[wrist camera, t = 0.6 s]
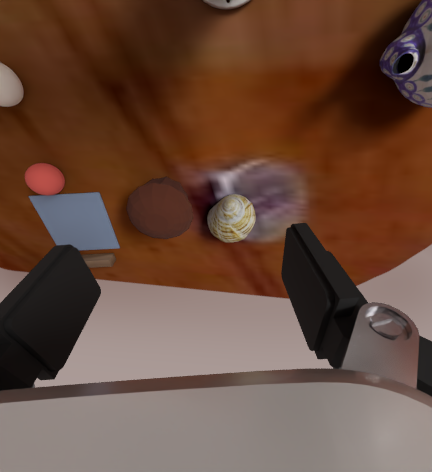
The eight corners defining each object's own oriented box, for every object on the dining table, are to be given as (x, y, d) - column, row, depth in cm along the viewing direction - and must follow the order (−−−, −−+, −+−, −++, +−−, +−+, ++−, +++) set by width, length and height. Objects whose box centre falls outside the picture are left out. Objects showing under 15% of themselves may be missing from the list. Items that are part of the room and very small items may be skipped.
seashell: (212, 241, 50) (205, 250, 40) (205, 199, 49) (197, 198, 39) (256, 235, 49) (260, 243, 39) (250, 192, 48) (254, 189, 38)
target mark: (29, 195, 43) (28, 196, 43) (99, 192, 43) (98, 192, 43) (60, 250, 51) (60, 251, 51) (120, 247, 51) (119, 248, 51)
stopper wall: (71, 255, 52) (66, 262, 50) (113, 253, 52) (109, 259, 50) (75, 261, 53) (70, 268, 51) (116, 259, 53) (112, 266, 51)
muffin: (137, 217, 47) (122, 245, 39) (135, 166, 41) (116, 186, 32) (192, 224, 48) (189, 252, 40) (198, 175, 42) (195, 197, 34)
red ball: (32, 159, 39) (9, 169, 35) (63, 158, 39) (43, 167, 35) (47, 189, 42) (27, 201, 38) (75, 187, 42) (59, 199, 38)
